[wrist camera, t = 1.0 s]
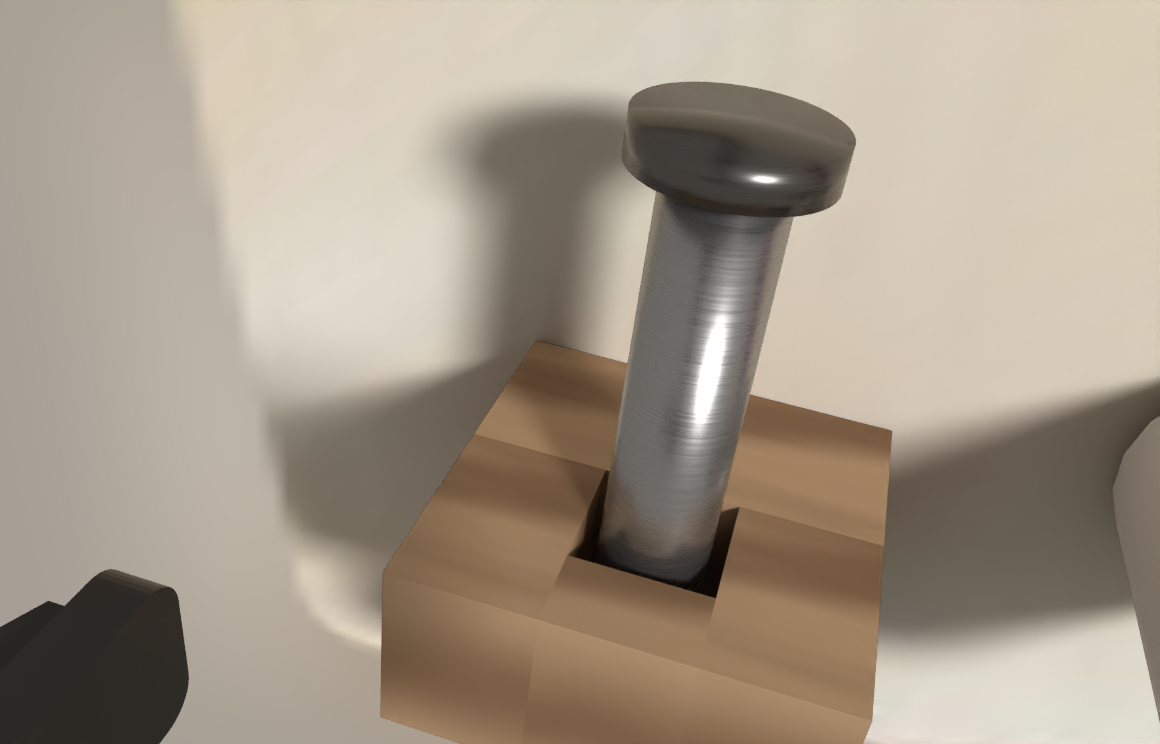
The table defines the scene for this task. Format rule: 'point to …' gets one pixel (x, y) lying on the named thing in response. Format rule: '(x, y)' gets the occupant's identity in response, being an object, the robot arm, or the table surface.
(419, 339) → the table surface
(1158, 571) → the can
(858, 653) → the bearing block
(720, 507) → the shaft
